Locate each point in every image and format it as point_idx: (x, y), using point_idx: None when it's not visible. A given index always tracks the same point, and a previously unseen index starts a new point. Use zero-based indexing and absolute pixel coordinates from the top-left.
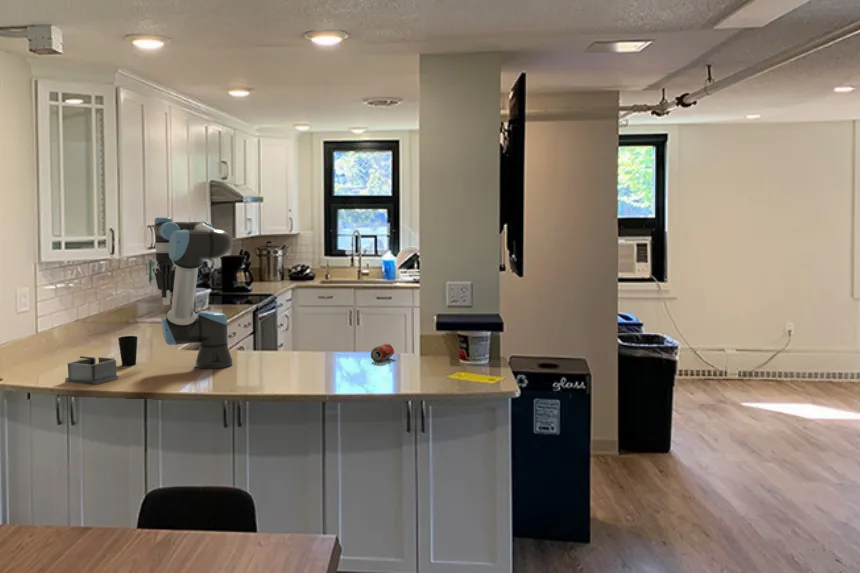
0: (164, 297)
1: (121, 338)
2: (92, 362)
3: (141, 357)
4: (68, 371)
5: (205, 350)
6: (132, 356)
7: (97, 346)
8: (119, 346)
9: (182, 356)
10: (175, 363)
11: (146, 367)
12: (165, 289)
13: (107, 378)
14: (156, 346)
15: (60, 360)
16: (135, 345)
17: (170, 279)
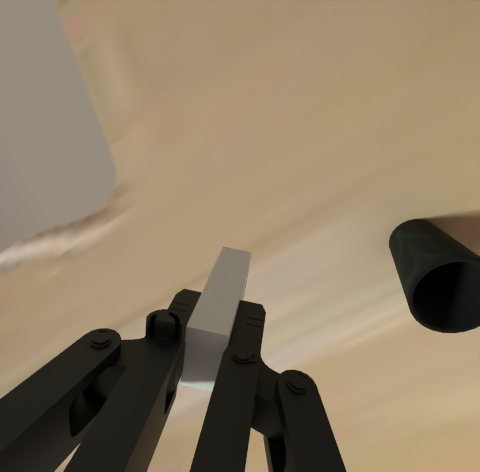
0: (261, 308)
1: (441, 325)
2: None
3: (277, 270)
4: None
5: None
6: (444, 232)
7: (161, 453)
8: (459, 301)
9: (223, 135)
10: (368, 74)
11: (464, 148)
12: (250, 356)
13: None
14: (99, 319)
15: (365, 450)
16: (448, 243)
17: (80, 455)
